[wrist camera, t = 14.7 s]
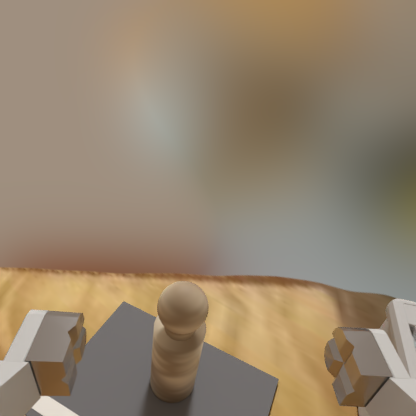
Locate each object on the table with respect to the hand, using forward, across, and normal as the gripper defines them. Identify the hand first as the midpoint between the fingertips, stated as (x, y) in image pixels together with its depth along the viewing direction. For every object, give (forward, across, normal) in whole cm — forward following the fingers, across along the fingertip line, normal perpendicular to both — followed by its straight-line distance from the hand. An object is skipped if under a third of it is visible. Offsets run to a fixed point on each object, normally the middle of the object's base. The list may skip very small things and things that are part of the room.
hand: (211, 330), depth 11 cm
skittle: (+13, 0, -28) cm, 31 cm away
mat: (+12, -1, -29) cm, 31 cm away
